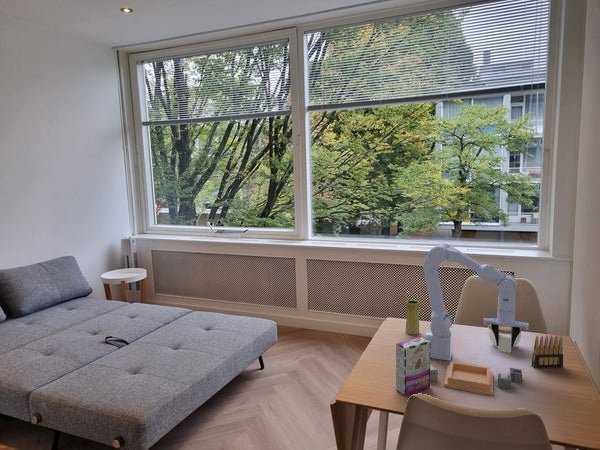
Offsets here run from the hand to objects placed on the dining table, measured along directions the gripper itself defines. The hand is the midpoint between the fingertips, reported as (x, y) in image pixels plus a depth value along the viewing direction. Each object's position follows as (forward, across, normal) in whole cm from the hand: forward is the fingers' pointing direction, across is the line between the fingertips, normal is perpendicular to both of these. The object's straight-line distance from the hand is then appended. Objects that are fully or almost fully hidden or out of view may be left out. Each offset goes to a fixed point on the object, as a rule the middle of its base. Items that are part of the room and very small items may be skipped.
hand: (504, 345), depth 151 cm
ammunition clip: (+9, +15, +8) cm, 19 cm away
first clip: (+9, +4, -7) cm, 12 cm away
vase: (+9, -36, +23) cm, 44 cm away
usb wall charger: (+9, -25, -16) cm, 31 cm away
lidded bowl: (+9, +1, +22) cm, 24 cm away
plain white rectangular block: (+1, 0, 0) cm, 1 cm away
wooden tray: (+9, -11, -14) cm, 20 cm away
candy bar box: (+9, -28, -27) cm, 40 cm away
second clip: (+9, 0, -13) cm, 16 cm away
